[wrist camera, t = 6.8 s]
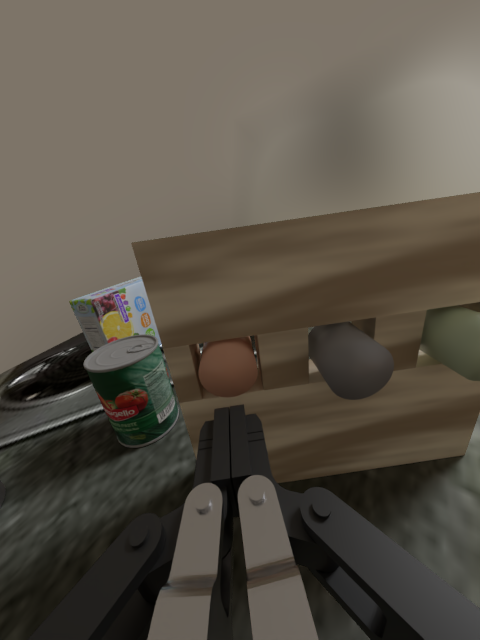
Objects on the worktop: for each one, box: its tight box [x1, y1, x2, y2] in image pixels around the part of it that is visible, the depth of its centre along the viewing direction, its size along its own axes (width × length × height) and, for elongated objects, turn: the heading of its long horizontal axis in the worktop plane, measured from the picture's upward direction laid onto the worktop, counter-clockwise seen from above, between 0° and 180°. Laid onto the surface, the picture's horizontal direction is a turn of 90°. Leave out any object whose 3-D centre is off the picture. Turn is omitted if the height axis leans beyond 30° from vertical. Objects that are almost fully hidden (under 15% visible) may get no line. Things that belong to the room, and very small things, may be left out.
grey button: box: [308, 321, 394, 400], centre depth 15 cm, size 4×4×4 cm
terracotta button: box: [199, 336, 258, 397], centre depth 17 cm, size 4×4×4 cm
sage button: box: [419, 305, 480, 381], centre depth 15 cm, size 4×4×4 cm
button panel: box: [132, 192, 480, 483], centre depth 21 cm, size 10×24×22 cm, turn 93°
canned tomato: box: [83, 334, 179, 448], centre depth 28 cm, size 8×8×11 cm
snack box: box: [69, 277, 162, 352], centre depth 48 cm, size 21×6×15 cm, turn 162°
